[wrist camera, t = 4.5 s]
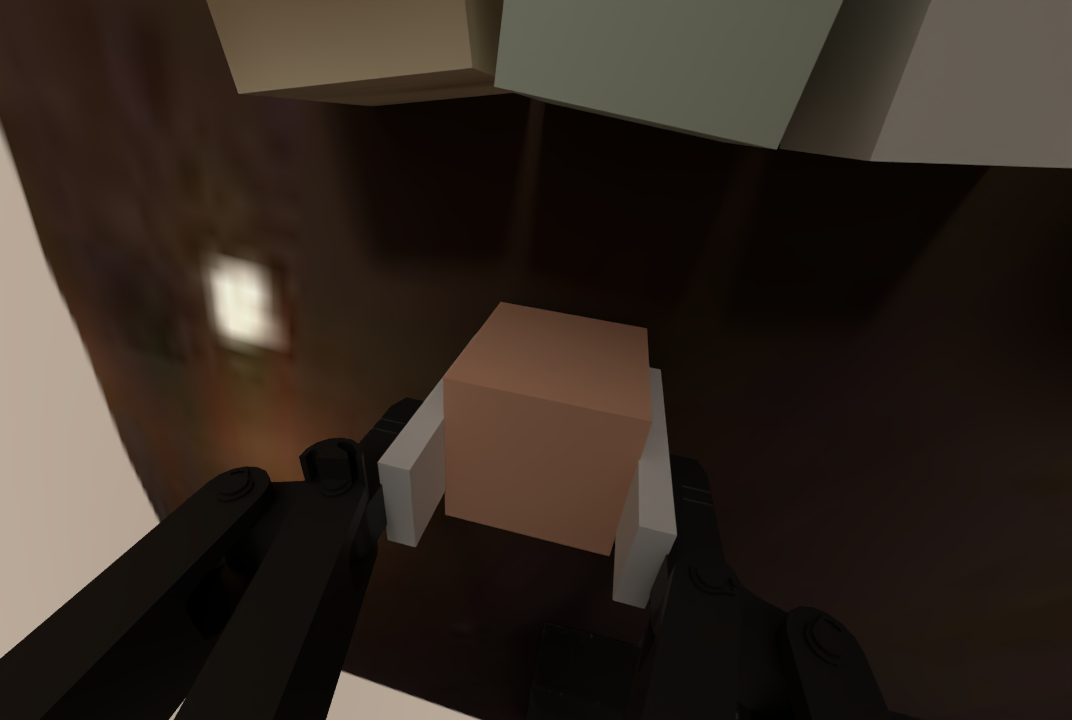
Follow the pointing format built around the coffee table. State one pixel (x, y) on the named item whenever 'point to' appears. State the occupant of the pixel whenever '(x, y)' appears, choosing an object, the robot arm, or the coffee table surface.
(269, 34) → the maple cube
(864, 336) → the coffee table surface
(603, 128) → the coffee table surface
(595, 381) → the terracotta cube
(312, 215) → the coffee table surface
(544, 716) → the coral
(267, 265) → the coffee table surface
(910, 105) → the offwhite cube
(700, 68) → the sage cube
